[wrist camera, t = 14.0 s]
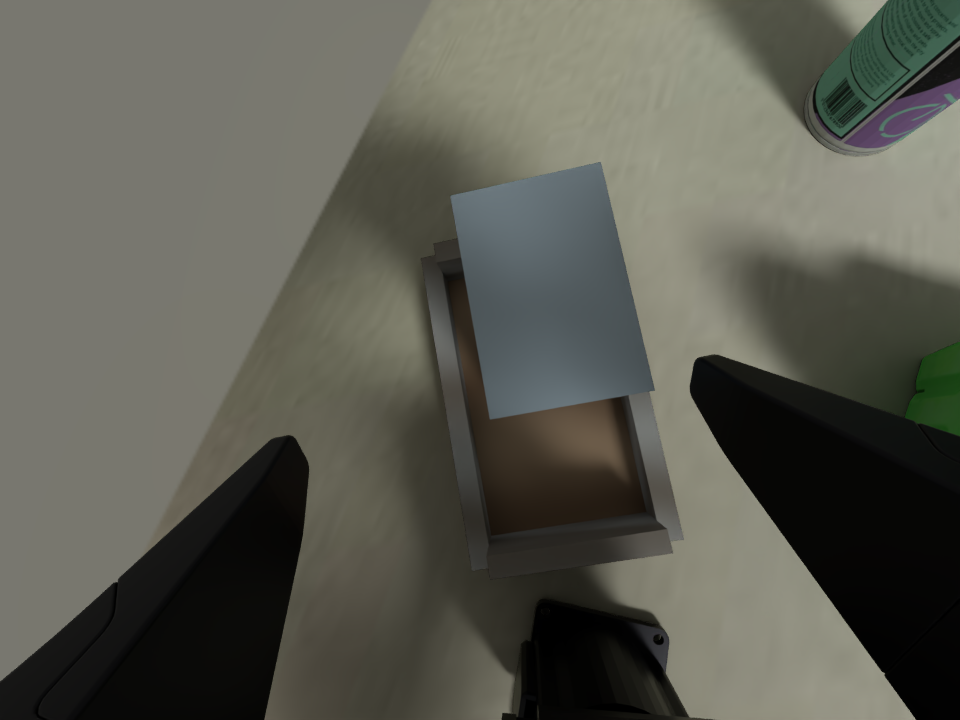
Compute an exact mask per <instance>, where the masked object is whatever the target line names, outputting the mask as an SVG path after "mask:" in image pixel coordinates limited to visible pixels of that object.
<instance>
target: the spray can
mask: <svg viewBox="0 0 960 720" xmlns="http://www.w3.org/2000/svg"><path fill="white" fill-rule="evenodd" d="M958 99H960V0H888V1H887V2H886V3H885V4H884V6H883V7H882V8H881V9H880V10H879V11H878V12H877V13H876V15H875V16H874V17H873V18H872V19H871V20H870V21H869V22H868V23H867V25H866V26H865V27H864V28H863V29H862V30H861V31H860V32H859V34H858V35H857V36H856V37H855V38H854V39H853V40H852V41H851V43H850V44H849V45H848V46H847V47H846V48H845V49H844V50H843V52H842V53H841V54H840V55H839V56H838V57H837V58H836V59H835V61H834V62H833V63H832V64H831V65H830V66H829V67H828V68H827V69H826V71H825V72H824V73H823V74H822V75H821V76H820V77H819V78H818V80H817V81H816V82H815V84H814V85H813V86H812V88H811V89H810V91H809V92H808V95H807V97H806V100H805V106H804V113H805V120H806V123H807V126H808V128H809V129H810V131H811V133H812V134H813V136H814V137H815V138H816V139H817V140H818V141H819V142H820V143H822V144H823V145H824V146H826V147H827V148H829V149H831V150H833V151H835V152H838V153H842V154H845V155H852V156H867V155H872V154H876V153H879V152H882V151H884V150H886V149H888V148H890V147H891V146H893V145H894V144H896V143H898V142H899V141H901V140H902V139H904V138H905V137H907V136H908V135H909V134H911V133H912V132H914V131H915V130H916V129H918V128H919V127H921V126H922V125H923V124H925V123H926V122H928V121H929V120H930V119H932V118H933V117H935V116H936V115H937V114H939V113H940V112H942V111H943V110H944V109H946V108H947V107H949V106H950V105H951V104H953V103H954V102H956V101H957V100H958Z"/></svg>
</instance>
